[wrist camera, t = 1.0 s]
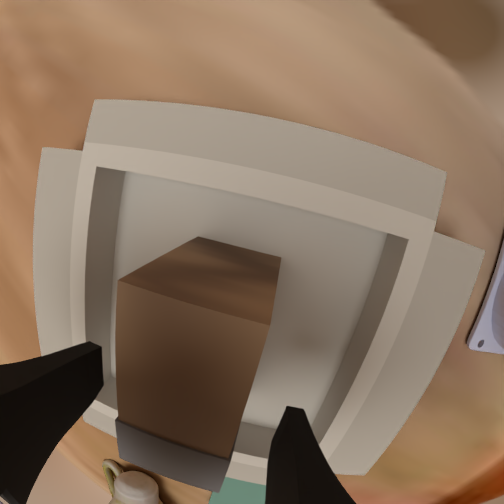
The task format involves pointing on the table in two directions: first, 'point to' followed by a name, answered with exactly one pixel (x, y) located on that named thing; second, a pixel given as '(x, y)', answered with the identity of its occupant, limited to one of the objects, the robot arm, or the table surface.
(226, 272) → the box
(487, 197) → the table surface
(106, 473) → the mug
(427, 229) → the off-white shallow square tray
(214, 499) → the mat
